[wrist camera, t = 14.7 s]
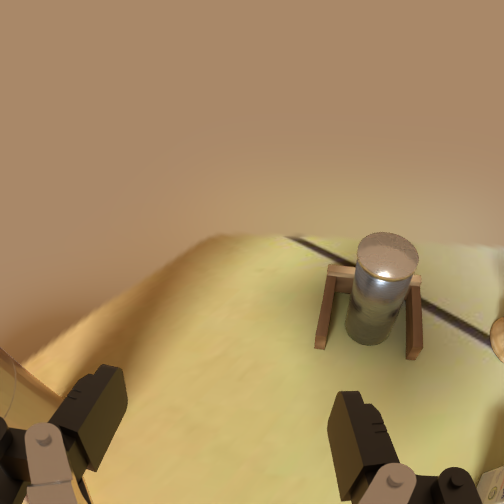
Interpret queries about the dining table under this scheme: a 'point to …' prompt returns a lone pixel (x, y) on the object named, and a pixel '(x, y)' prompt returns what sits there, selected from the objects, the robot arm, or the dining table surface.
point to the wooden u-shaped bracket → (343, 282)
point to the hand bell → (498, 338)
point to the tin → (379, 286)
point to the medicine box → (492, 486)
